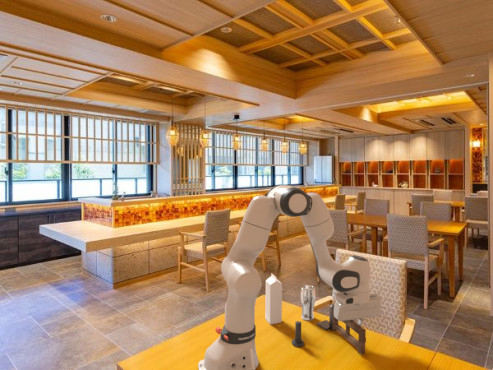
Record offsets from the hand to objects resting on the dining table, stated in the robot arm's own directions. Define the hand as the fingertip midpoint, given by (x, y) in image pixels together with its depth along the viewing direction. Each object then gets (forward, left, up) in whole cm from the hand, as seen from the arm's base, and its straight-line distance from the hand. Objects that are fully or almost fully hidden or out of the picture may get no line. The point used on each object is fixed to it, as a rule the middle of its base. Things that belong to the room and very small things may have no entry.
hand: (357, 328), depth 136 cm
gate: (-2, +3, -6) cm, 7 cm away
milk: (-18, +34, -7) cm, 39 cm away
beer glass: (-2, +28, -7) cm, 29 cm away
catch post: (-21, +13, -7) cm, 25 cm away
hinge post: (0, +17, -7) cm, 18 cm away
